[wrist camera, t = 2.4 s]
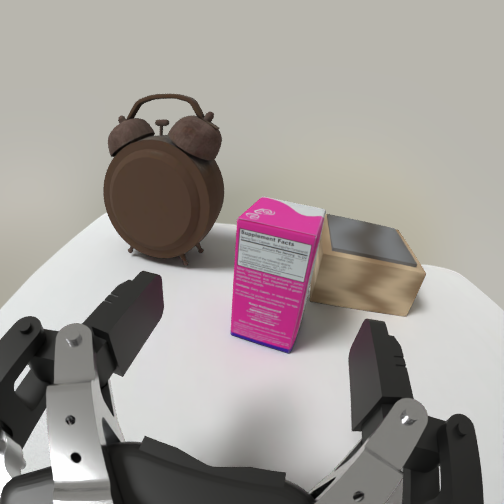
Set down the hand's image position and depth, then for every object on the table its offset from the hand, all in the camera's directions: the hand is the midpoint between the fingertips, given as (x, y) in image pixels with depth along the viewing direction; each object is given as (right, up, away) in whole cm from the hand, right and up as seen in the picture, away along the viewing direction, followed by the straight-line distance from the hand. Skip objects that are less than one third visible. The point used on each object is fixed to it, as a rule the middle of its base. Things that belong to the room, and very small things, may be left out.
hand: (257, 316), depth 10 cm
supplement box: (+1, -5, +16) cm, 16 cm away
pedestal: (+13, -1, +24) cm, 27 cm away
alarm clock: (-12, +2, +25) cm, 28 cm away
